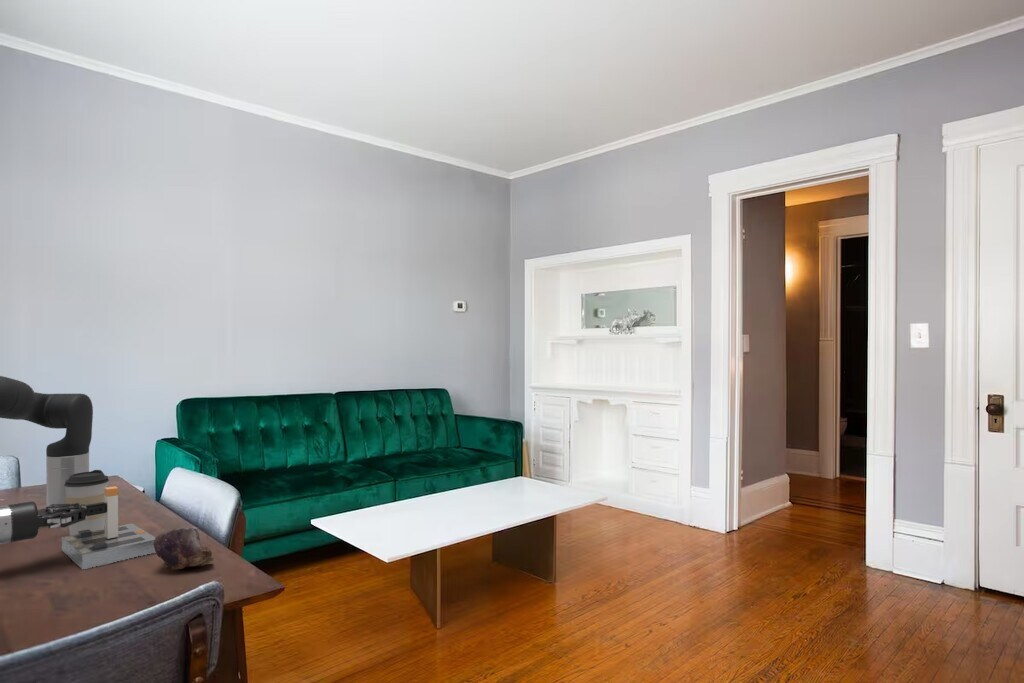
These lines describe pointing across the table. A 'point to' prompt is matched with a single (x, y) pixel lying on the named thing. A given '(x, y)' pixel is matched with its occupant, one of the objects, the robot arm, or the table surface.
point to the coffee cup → (87, 497)
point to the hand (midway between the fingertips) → (106, 507)
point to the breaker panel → (107, 546)
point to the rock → (182, 548)
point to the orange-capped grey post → (111, 512)
